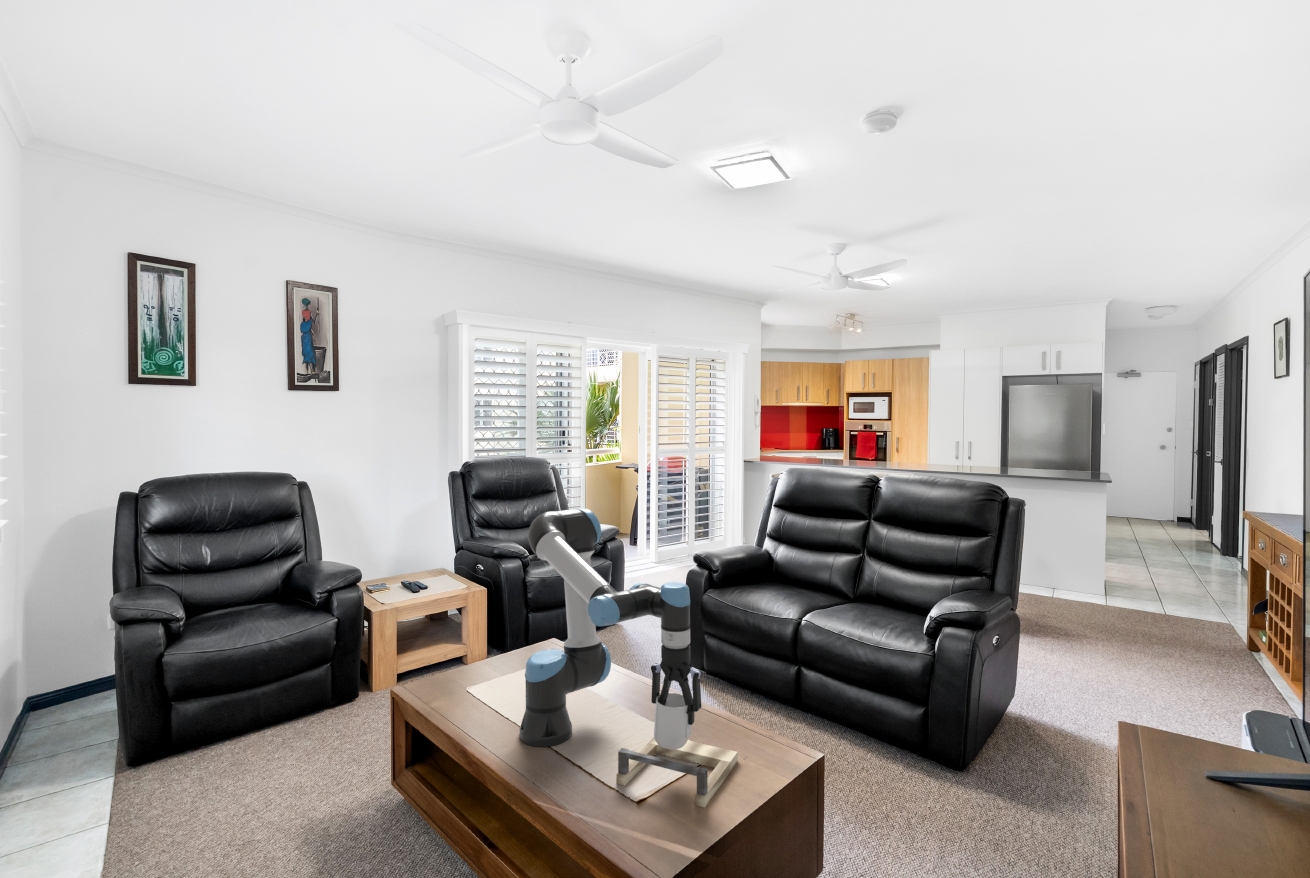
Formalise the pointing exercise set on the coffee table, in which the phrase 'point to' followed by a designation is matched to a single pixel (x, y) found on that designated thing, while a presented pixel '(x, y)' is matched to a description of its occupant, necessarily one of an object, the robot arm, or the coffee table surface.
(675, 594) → the robot arm
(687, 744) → the beige and grey frame
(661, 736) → the mug
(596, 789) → the coffee table surface
